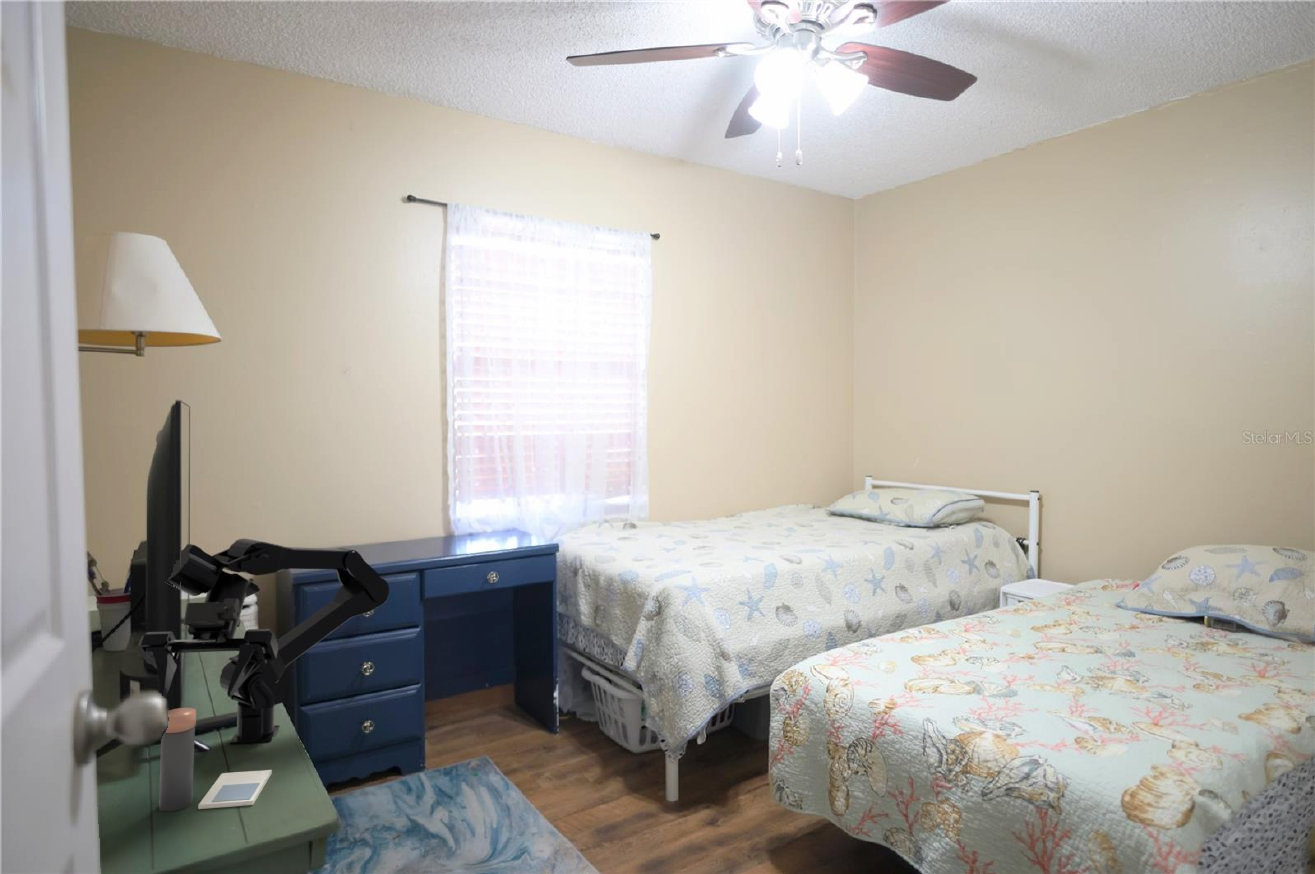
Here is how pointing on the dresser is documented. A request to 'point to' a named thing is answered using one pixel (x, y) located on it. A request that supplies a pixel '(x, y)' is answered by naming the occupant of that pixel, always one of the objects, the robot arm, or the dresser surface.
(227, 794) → the notepad
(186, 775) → the bottle
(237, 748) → the dresser surface
